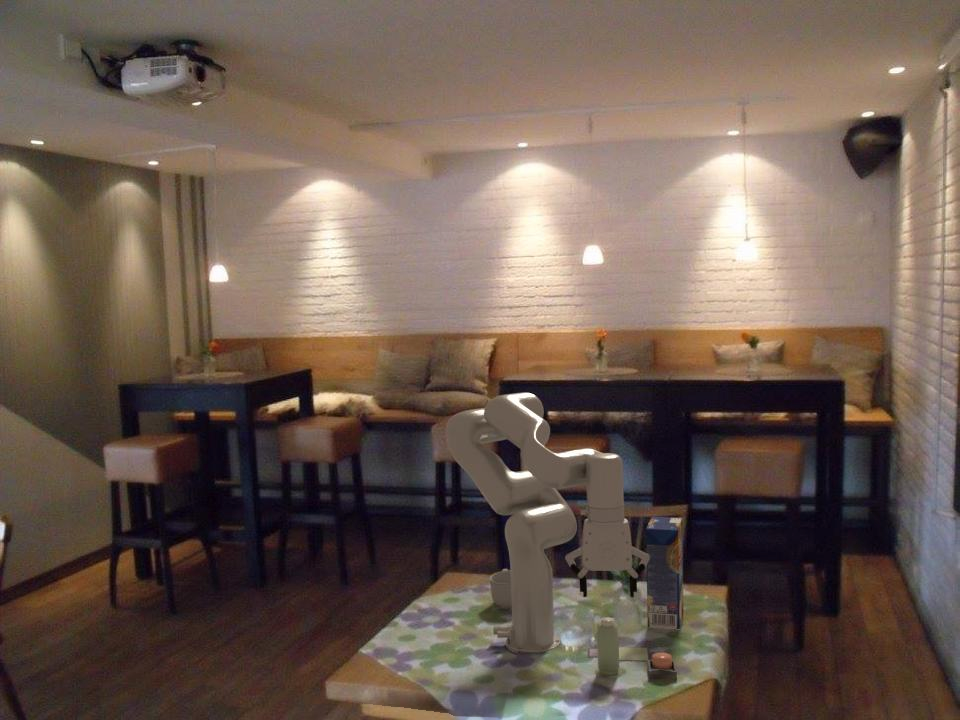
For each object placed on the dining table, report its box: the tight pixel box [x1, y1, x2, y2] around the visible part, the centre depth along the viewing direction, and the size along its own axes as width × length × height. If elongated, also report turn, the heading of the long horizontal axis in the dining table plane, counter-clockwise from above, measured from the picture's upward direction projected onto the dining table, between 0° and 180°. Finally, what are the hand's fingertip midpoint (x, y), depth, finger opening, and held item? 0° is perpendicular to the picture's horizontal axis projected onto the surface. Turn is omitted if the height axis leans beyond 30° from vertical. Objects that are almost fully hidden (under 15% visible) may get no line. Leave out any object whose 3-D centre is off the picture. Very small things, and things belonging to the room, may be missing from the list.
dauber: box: [596, 617, 620, 676], centre depth 190 cm, size 4×4×11 cm
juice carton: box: [645, 516, 685, 630], centre depth 222 cm, size 12×8×24 cm, turn 163°
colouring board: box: [587, 646, 678, 681], centre depth 195 cm, size 20×20×3 cm
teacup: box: [489, 568, 512, 610], centre depth 237 cm, size 14×11×8 cm
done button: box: [651, 652, 673, 670], centre depth 189 cm, size 4×4×2 cm
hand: (608, 595), depth 189 cm, fingers open, 9 cm apart
